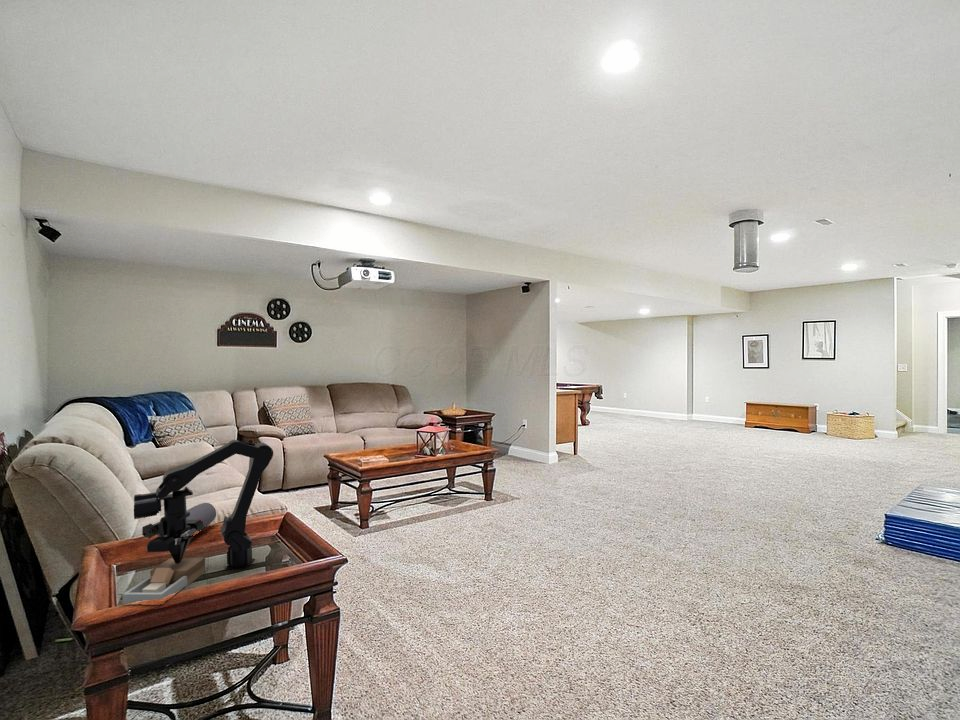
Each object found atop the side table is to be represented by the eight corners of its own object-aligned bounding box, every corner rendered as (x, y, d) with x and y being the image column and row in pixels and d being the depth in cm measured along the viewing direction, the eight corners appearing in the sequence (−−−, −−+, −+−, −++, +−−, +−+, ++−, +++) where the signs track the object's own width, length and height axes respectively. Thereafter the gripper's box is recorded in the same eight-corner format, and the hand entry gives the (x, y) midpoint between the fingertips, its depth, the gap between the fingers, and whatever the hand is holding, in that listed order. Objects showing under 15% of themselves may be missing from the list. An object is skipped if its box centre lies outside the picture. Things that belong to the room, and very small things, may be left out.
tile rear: (174, 571, 147) (170, 567, 145) (168, 585, 144) (163, 582, 142) (160, 571, 147) (156, 567, 145) (154, 585, 144) (150, 582, 142)
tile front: (156, 589, 138) (156, 598, 138) (165, 582, 142) (166, 591, 142) (142, 589, 139) (142, 598, 139) (152, 582, 143) (152, 591, 143)
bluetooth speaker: (183, 549, 174) (181, 521, 174) (156, 550, 174) (155, 521, 174) (218, 526, 197) (217, 501, 196) (195, 526, 197) (194, 501, 197)
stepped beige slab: (205, 572, 156) (204, 557, 155) (187, 585, 147) (186, 570, 146) (170, 572, 156) (170, 557, 156) (150, 585, 147) (150, 570, 147)
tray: (187, 585, 147) (187, 575, 146) (162, 605, 136) (161, 594, 136) (150, 585, 147) (150, 575, 147) (122, 605, 136) (122, 594, 136)
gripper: (168, 502, 160) (171, 550, 160) (126, 523, 141) (129, 578, 141) (203, 501, 159) (205, 550, 160) (165, 522, 141) (168, 577, 141)
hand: (177, 563), depth 151 cm, fingers closed
